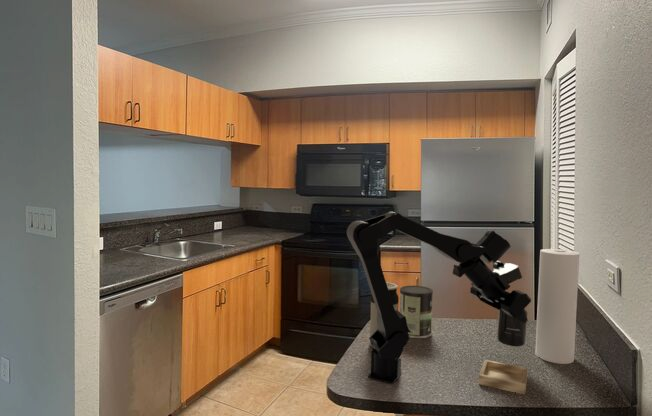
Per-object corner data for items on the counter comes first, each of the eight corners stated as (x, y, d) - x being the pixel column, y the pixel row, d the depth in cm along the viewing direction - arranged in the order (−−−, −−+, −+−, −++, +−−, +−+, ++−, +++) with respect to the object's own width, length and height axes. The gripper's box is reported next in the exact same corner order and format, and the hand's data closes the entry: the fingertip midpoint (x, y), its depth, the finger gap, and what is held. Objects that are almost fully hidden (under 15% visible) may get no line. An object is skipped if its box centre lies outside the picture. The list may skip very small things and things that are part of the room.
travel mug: (402, 346, 121) (404, 285, 120) (385, 353, 115) (386, 290, 114) (382, 338, 127) (383, 280, 126) (364, 344, 121) (365, 284, 120)
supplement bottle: (509, 348, 104) (511, 301, 103) (491, 338, 110) (493, 294, 109) (531, 346, 105) (534, 300, 105) (512, 336, 112) (515, 292, 111)
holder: (478, 384, 99) (479, 375, 98) (484, 367, 107) (484, 359, 107) (525, 394, 94) (525, 385, 94) (527, 376, 103) (527, 368, 102)
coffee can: (427, 327, 137) (428, 285, 136) (435, 339, 127) (436, 293, 126) (396, 326, 137) (397, 284, 136) (401, 338, 127) (402, 293, 126)
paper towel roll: (579, 365, 110) (585, 253, 108) (541, 361, 111) (546, 251, 110) (566, 351, 119) (571, 248, 117) (531, 348, 121) (535, 246, 119)
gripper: (526, 260, 96) (564, 305, 99) (482, 247, 115) (516, 286, 117) (493, 294, 95) (533, 339, 98) (454, 276, 114) (489, 314, 116)
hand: (517, 317), depth 108 cm, fingers closed on supplement bottle, 7 cm apart
